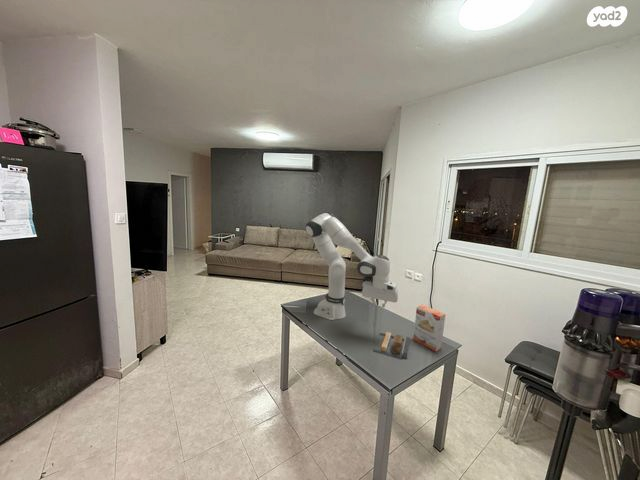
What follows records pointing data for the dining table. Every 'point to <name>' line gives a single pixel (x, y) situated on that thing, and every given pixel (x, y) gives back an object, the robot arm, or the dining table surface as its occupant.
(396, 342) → the walnut block
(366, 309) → the dining table surface
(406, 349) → the base
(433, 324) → the cracker box
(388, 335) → the sliding jaw
